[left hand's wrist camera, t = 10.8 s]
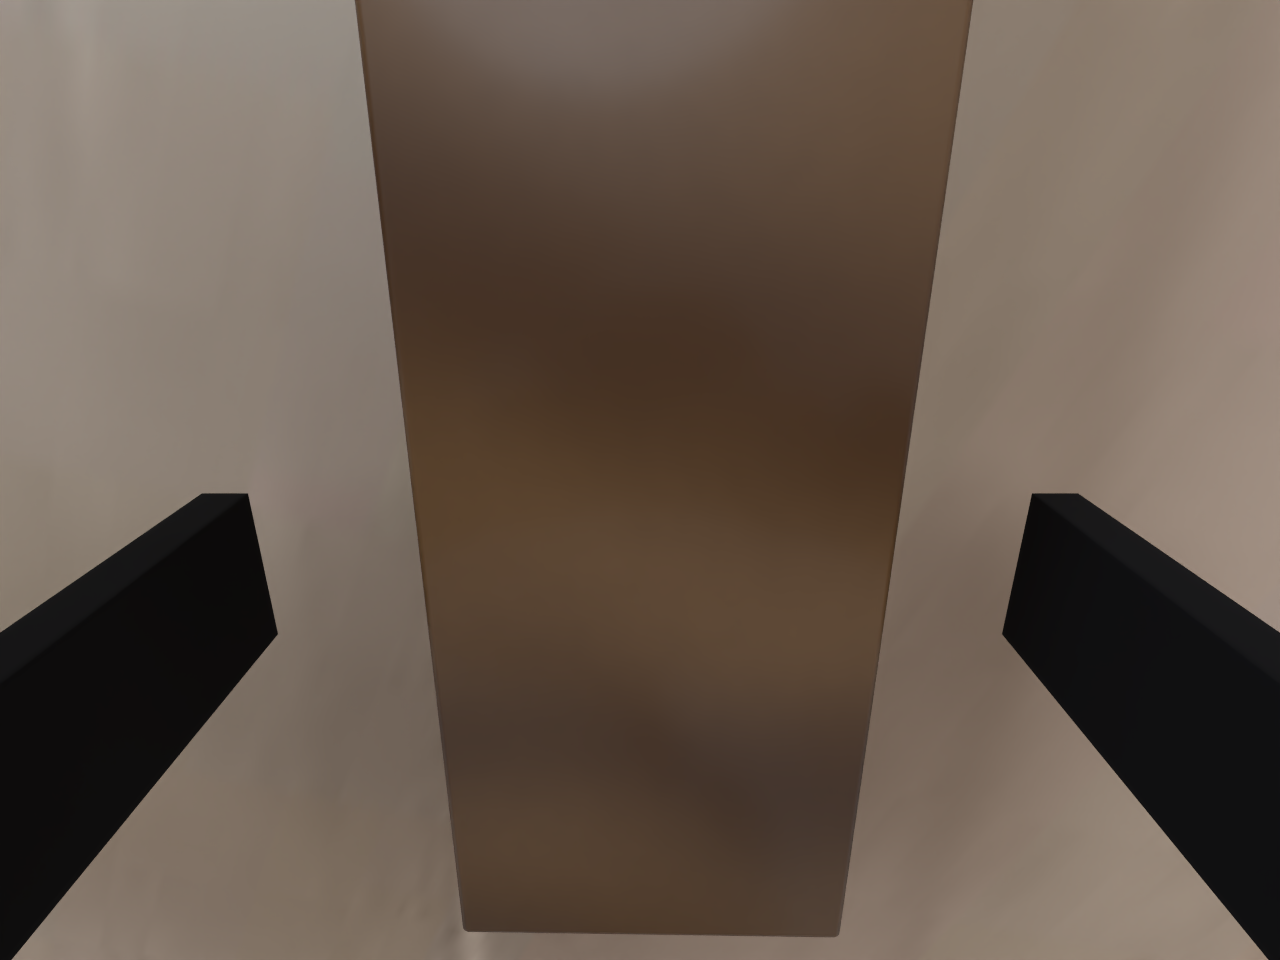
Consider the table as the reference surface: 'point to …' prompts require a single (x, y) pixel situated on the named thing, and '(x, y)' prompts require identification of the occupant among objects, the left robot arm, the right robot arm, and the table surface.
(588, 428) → the bar
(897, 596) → the table surface
